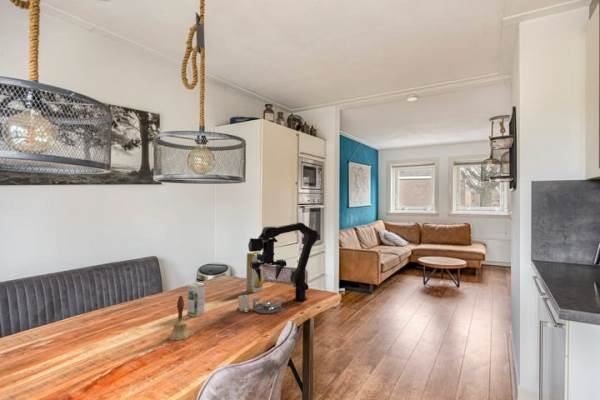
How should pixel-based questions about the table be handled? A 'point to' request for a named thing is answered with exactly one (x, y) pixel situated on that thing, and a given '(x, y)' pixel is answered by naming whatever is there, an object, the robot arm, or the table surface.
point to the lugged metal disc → (266, 306)
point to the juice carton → (253, 274)
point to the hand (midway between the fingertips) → (267, 280)
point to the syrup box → (196, 299)
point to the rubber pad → (242, 310)
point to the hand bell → (180, 324)
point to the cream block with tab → (243, 303)
